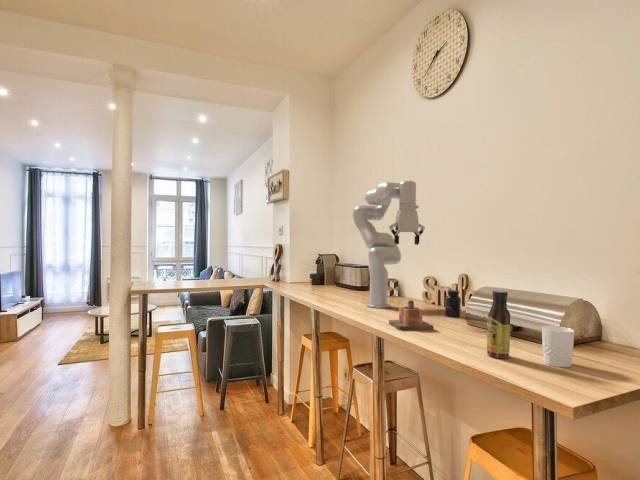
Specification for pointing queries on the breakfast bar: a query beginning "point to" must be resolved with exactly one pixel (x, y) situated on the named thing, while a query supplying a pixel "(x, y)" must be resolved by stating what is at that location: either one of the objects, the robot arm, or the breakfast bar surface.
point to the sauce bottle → (498, 326)
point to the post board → (401, 326)
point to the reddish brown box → (410, 316)
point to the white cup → (557, 345)
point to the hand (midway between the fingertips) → (406, 244)
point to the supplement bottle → (453, 304)
